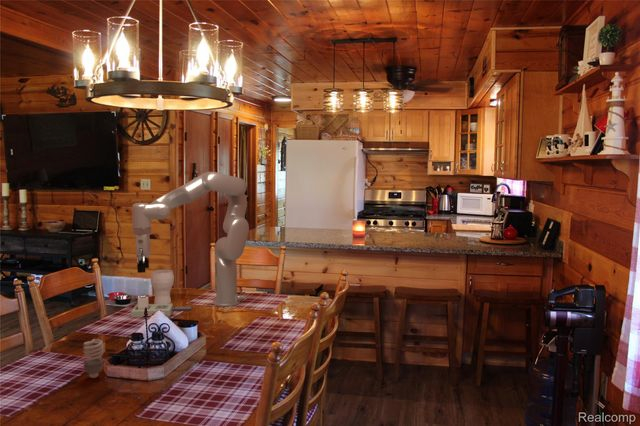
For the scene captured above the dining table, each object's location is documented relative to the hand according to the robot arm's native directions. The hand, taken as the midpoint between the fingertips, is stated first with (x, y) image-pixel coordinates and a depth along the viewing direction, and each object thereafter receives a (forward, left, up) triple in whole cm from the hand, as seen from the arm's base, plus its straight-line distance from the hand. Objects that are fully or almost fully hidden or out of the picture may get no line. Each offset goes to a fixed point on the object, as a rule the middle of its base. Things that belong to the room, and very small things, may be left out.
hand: (143, 270), depth 227 cm
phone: (-16, -4, -20) cm, 26 cm away
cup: (-6, -18, -19) cm, 27 cm away
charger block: (0, 0, -19) cm, 19 cm away
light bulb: (+3, +72, -19) cm, 75 cm away
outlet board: (-4, 0, -19) cm, 20 cm away
